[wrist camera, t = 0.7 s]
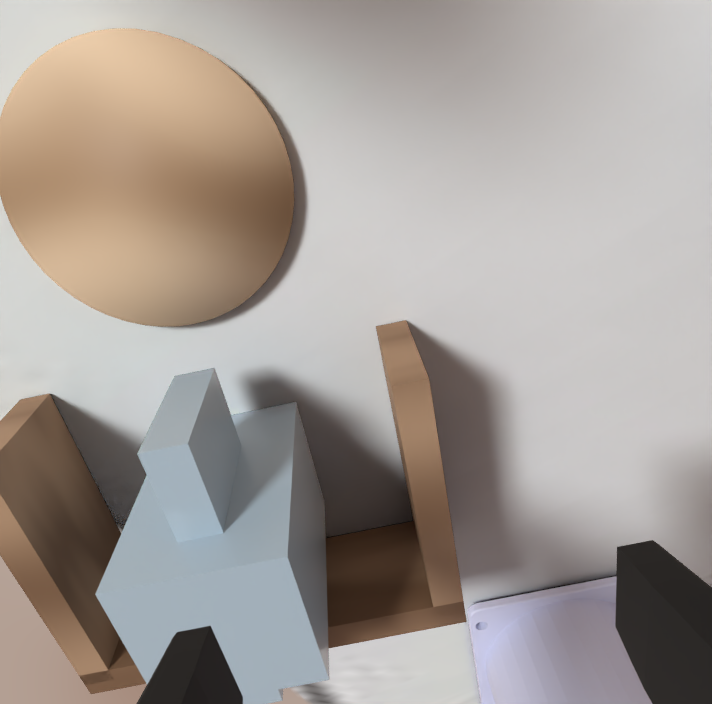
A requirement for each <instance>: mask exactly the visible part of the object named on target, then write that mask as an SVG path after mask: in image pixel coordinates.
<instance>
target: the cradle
mask: <svg viewBox="0 0 712 704" xmlns="http://www.w3.org/2000/svg"><path fill="white" fill-rule="evenodd" d="M376 329H377V335H378V340H379V345H380V350H381V355H382V360H383V366H384V371H385V376H386V381H387V386H388V391H389V397H390V402H391V407H392V412H393V417H394V422H395V428H396V433H397V438H398V443H399V448H400V453H401V459H402V464H403V469H404V474H405V479H406V484H407V490H408V495H409V500H410V505H411V510H412V515H413V521H411V522H406V523H401V524H396V525H391V526H386V527H381V528H376V529H370V530H365V531H360V532H355V533H350V534H345V535H340V536H335V537H330V538H326V572H327V610H328V648H333V647H338V646H343V645H348V644H353V643H358V642H364V641H369V640H374V639H379V638H384V637H389V636H395V635H400V634H405V633H410V632H415V631H420V630H426V629H431V628H436V627H441V626H446V625H452V624H457V623H462V622H466V615H465V609H464V602H463V596H462V589H461V583H460V576H459V570H458V563H457V557H456V550H455V544H454V537H453V531H452V524H451V518H450V511H449V505H448V498H447V492H446V485H445V479H444V472H443V466H442V459H441V453H440V446H439V440H438V434H437V427H436V421H435V414H434V408H433V401H432V395H431V388H430V382H429V377H428V375H427V372H426V370H425V367H424V365H423V362H422V359H421V357H420V354H419V352H418V349H417V347H416V344H415V342H414V339H413V337H412V334H411V332H410V329H409V327H408V324H407V322H406V320H405V321H400V322H395V323H391V324H386V325H381V326H376ZM120 536H121V532H120V531H119V529H118V527H117V525H116V523H115V521H114V519H113V517H112V515H111V513H110V511H109V509H108V507H107V505H106V503H105V501H104V499H103V497H102V495H101V493H100V491H99V489H98V487H97V485H96V483H95V481H94V480H93V478H92V476H91V474H90V472H89V470H88V468H87V466H86V464H85V462H84V460H83V458H82V456H81V454H80V452H79V450H78V448H77V446H76V444H75V442H74V440H73V438H72V436H71V434H70V432H69V430H68V428H67V427H66V425H65V423H64V421H63V419H62V417H61V415H60V413H59V411H58V409H57V407H56V405H55V403H54V401H53V399H52V397H51V395H50V394H45V395H41V396H36V397H31V398H26V399H21V400H20V401H19V402H18V403H17V404H16V405H15V406H14V407H13V408H12V409H11V410H10V411H9V412H8V413H7V415H6V416H5V417H4V418H3V419H2V420H1V421H0V556H1V557H2V559H3V560H4V562H5V563H6V565H7V566H8V568H9V569H10V571H11V572H12V574H13V576H14V577H15V579H16V580H17V582H18V583H19V585H20V586H21V588H22V589H23V591H24V592H25V594H26V595H27V597H28V598H29V600H30V601H31V603H32V604H33V606H34V608H35V609H36V611H37V612H38V614H39V615H40V617H41V618H42V619H43V621H44V623H45V624H46V626H47V627H48V629H49V631H50V632H51V634H52V635H53V637H54V638H55V640H56V641H57V643H58V644H59V646H60V647H61V649H62V650H63V652H64V653H65V655H66V656H67V658H68V660H69V661H70V662H71V664H72V665H73V667H74V669H75V670H76V672H77V673H78V675H79V676H80V678H81V679H82V681H83V682H84V684H85V685H86V687H87V689H88V690H89V692H90V693H91V694H94V693H99V692H105V691H110V690H115V689H120V688H126V687H131V686H136V685H141V684H146V682H145V680H144V678H143V677H142V675H141V673H140V671H139V670H138V668H137V666H136V665H135V663H134V661H133V659H132V658H131V656H130V654H129V652H128V651H127V649H126V647H125V645H124V644H123V642H122V640H121V638H120V637H119V635H118V633H117V632H116V630H115V628H114V626H113V625H112V623H111V621H110V619H109V618H108V616H107V614H106V612H105V611H104V609H103V607H102V606H101V604H100V602H99V600H98V599H97V597H96V595H95V594H96V592H97V589H98V587H99V585H100V582H101V580H102V578H103V575H104V573H105V571H106V568H107V566H108V564H109V561H110V559H111V557H112V554H113V552H114V550H115V547H116V545H117V543H118V540H119V538H120Z"/></svg>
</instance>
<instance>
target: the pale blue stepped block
mask: <svg viewBox="0 0 712 704" xmlns="http://www.w3.org/2000/svg"><path fill="white" fill-rule="evenodd" d="M137 455H138V457H139V459H140V461H141V464H142V466H143V468H144V470H145V472H146V478H145V480H144V482H143V485H142V487H141V489H140V492H139V494H138V496H137V499H136V501H135V503H134V506H133V508H132V510H131V512H130V515H129V517H128V519H127V522H126V524H125V526H124V529H123V531H122V533H121V536H120V538H119V540H118V543H117V545H116V547H115V550H114V552H113V554H112V557H111V559H110V561H109V564H108V566H107V568H106V571H105V573H104V575H103V578H102V580H101V582H100V585H99V587H98V589H97V592H96V594H95V595H96V597H97V599H98V600H99V602H100V604H101V606H102V607H103V609H104V611H105V612H106V614H107V616H108V618H109V619H110V621H111V623H112V625H113V626H114V628H115V630H116V632H117V633H118V635H119V637H120V638H121V640H122V642H123V644H124V645H125V647H126V649H127V651H128V652H129V654H130V656H131V658H132V659H133V661H134V663H135V665H136V666H137V668H138V670H139V671H140V673H141V675H142V677H143V678H144V680H145V682H146V684H148V682H149V680H150V679H151V677H152V675H153V673H154V671H155V669H156V668H157V666H158V664H159V662H160V660H161V658H162V656H163V655H164V653H165V651H166V649H167V647H168V645H169V644H170V642H171V640H172V638H173V637H174V635H175V634H176V633H177V632H180V631H185V630H191V629H196V628H201V627H206V626H211V628H212V630H213V632H214V634H215V637H216V639H217V641H218V643H219V645H220V648H221V650H222V652H223V654H224V656H225V659H226V661H227V663H228V665H229V667H230V670H231V672H232V674H233V676H234V678H235V681H236V683H237V685H238V687H239V689H240V692H241V694H242V696H243V704H268V703H273V702H278V701H282V700H283V688H288V687H294V686H299V685H304V684H309V683H314V682H320V681H325V680H329V648H328V610H327V572H326V534H325V502H324V499H323V495H322V492H321V488H320V485H319V481H318V478H317V474H316V471H315V467H314V463H313V460H312V456H311V453H310V449H309V446H308V442H307V439H306V435H305V432H304V428H303V424H302V421H301V417H300V414H299V410H298V407H297V403H296V402H293V403H288V404H283V405H278V406H273V407H269V408H264V409H259V410H254V411H249V412H244V413H239V414H234V415H231V414H230V411H229V408H228V405H227V402H226V400H225V397H224V394H223V391H222V388H221V385H220V382H219V379H218V377H217V374H216V371H215V368H211V369H207V370H202V371H197V372H192V373H187V374H182V375H177V376H174V378H173V380H172V382H171V384H170V386H169V389H168V391H167V393H166V395H165V397H164V399H163V401H162V403H161V405H160V407H159V409H158V411H157V413H156V416H155V418H154V420H153V422H152V424H151V426H150V428H149V430H148V432H147V434H146V436H145V438H144V441H143V443H142V445H141V447H140V449H139V451H138V453H137Z"/></svg>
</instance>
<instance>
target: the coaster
mask: <svg viewBox="0 0 712 704" xmlns="http://www.w3.org/2000/svg"><path fill="white" fill-rule="evenodd" d="M0 195H1V199H2V203H3V206H4V208H5V211H6V213H7V216H8V218H9V221H10V223H11V225H12V227H13V229H14V231H15V233H16V235H17V236H18V238H19V240H20V242H21V243H22V245H23V246H24V248H25V249H26V250H27V252H28V253H29V255H30V256H31V258H32V259H33V260H34V261H35V262H36V263H37V265H38V266H39V267H40V268H41V269H42V270H43V271H44V273H45V274H47V275H48V276H49V277H50V278H51V279H52V280H53V281H54V282H55V283H56V284H57V285H58V286H60V287H61V288H62V289H64V290H65V291H66V292H68V293H69V294H70V295H72V296H73V297H74V298H76V299H78V300H79V301H81V302H83V303H84V304H86V305H88V306H89V307H91V308H93V309H95V310H98V311H100V312H102V313H104V314H106V315H109V316H112V317H115V318H118V319H121V320H124V321H127V322H132V323H137V324H142V325H150V326H160V327H163V326H183V325H190V324H196V323H200V322H203V321H207V320H211V319H213V318H215V317H218V316H220V315H223V314H225V313H227V312H229V311H230V310H232V309H234V308H236V307H237V306H239V305H241V304H242V303H243V302H244V301H246V300H247V299H248V298H250V297H251V296H252V295H253V294H254V293H255V292H256V291H257V290H258V289H259V288H260V287H261V286H262V285H263V284H264V283H265V282H266V280H267V279H268V278H269V276H270V275H271V273H272V272H273V271H274V269H275V267H276V265H277V264H278V262H279V260H280V258H281V256H282V254H283V251H284V249H285V246H286V243H287V241H288V238H289V233H290V229H291V224H292V219H293V209H294V182H293V176H292V170H291V164H290V160H289V157H288V153H287V150H286V147H285V143H284V141H283V139H282V137H281V134H280V132H279V130H278V128H277V125H276V123H275V122H274V120H273V118H272V117H271V115H270V113H269V112H268V110H267V108H266V107H265V105H264V104H263V103H262V101H261V100H260V99H259V97H258V96H257V95H256V94H255V92H254V91H253V90H252V89H251V88H250V87H249V86H248V85H247V84H246V82H245V81H244V80H243V79H242V78H241V77H240V76H239V75H238V74H237V73H235V72H234V71H233V70H232V69H230V68H229V67H228V66H227V65H225V64H224V63H223V62H222V61H220V60H219V59H217V58H215V57H214V56H212V55H211V54H209V53H207V52H206V51H204V50H202V49H201V48H198V47H196V46H194V45H192V44H190V43H187V42H185V41H183V40H180V39H178V38H174V37H171V36H168V35H164V34H161V33H158V32H152V31H146V30H139V29H106V30H99V31H92V32H89V33H85V34H82V35H79V36H76V37H72V38H70V39H68V40H66V41H64V42H62V43H60V44H58V45H56V46H54V47H53V48H51V49H50V50H49V51H47V52H46V53H44V54H43V55H42V56H40V57H39V58H38V59H37V60H36V61H35V62H34V63H33V64H32V65H31V66H30V67H29V68H28V69H27V70H26V71H25V72H24V73H23V74H22V76H21V77H20V78H19V80H18V81H17V83H16V84H15V86H14V87H13V88H12V90H11V93H10V95H9V97H8V99H7V101H6V103H5V105H4V107H3V111H2V114H1V117H0Z"/></svg>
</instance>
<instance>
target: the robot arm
mask: <svg viewBox="0 0 712 704" xmlns="http://www.w3.org/2000/svg"><path fill="white" fill-rule="evenodd" d="M467 617H468V623H469V630H470V637H471V643H472V650H473V656H474V663H475V669H476V676H477V683H478V689H479V696H480V702H481V704H712V587H710V586H709V585H708V584H707V583H705V582H704V581H703V580H702V579H700V578H699V577H698V576H697V575H695V574H694V573H693V572H692V571H691V570H689V569H688V568H687V567H686V566H684V565H683V564H682V563H681V562H679V561H678V560H677V559H676V558H675V557H673V556H672V555H671V554H670V553H668V552H667V551H666V550H665V549H664V548H662V547H661V546H660V545H659V544H657V543H656V542H654V541H653V540H652V541H646V542H641V543H636V544H631V545H626V546H621V547H617V576H614V577H609V578H604V579H599V580H593V581H588V582H583V583H578V584H573V585H568V586H562V587H557V588H552V589H547V590H542V591H537V592H532V593H526V594H521V595H516V596H511V597H506V598H501V599H495V600H490V601H485V602H480V603H476V604H473V605H472V606H470V607H469V609H468V610H467ZM137 704H243V696H242V694H241V692H240V689H239V687H238V685H237V683H236V681H235V678H234V676H233V674H232V672H231V670H230V667H229V665H228V663H227V661H226V659H225V656H224V654H223V652H222V650H221V648H220V645H219V643H218V641H217V639H216V637H215V634H214V632H213V630H212V628H211V626H206V627H201V628H196V629H191V630H185V631H180V632H177V633H176V634H175V635H174V637H173V638H172V640H171V642H170V644H169V645H168V647H167V649H166V651H165V653H164V655H163V656H162V658H161V660H160V662H159V664H158V666H157V668H156V669H155V671H154V673H153V675H152V677H151V679H150V680H149V682H148V684H147V686H146V688H145V690H144V691H143V693H142V695H141V697H140V699H139V700H138V702H137Z"/></svg>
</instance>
